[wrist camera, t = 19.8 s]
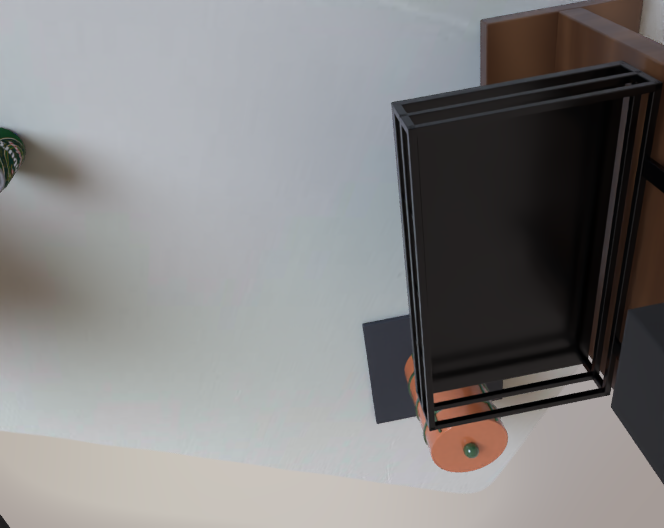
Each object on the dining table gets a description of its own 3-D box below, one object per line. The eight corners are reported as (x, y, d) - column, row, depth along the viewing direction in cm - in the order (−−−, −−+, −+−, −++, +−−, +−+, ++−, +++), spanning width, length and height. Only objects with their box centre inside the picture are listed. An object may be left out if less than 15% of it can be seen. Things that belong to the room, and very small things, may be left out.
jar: (400, 346, 53) (431, 437, 45) (471, 332, 53) (515, 420, 45) (405, 397, 56) (434, 490, 48) (472, 383, 57) (512, 474, 48)
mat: (376, 420, 58) (377, 424, 58) (362, 323, 51) (363, 326, 51) (500, 395, 59) (502, 398, 58) (503, 296, 52) (505, 299, 51)
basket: (415, 390, 42) (480, 580, 31) (391, 102, 31) (480, 243, 20) (619, 349, 43) (753, 522, 32) (671, 50, 31) (909, 160, 20)
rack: (480, 287, 51) (625, 544, 32) (480, 19, 39) (712, 180, 20) (598, 264, 51) (810, 505, 33) (634, -9, 39) (1004, 124, 20)
